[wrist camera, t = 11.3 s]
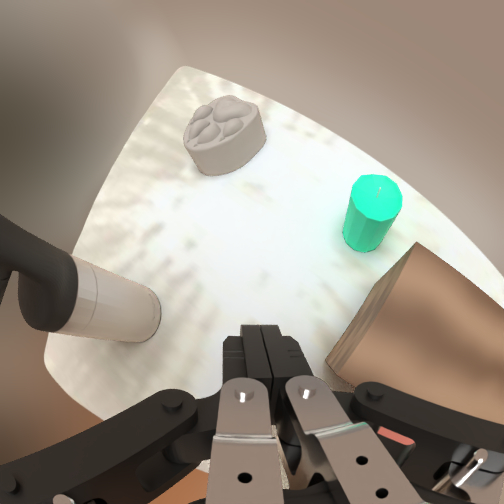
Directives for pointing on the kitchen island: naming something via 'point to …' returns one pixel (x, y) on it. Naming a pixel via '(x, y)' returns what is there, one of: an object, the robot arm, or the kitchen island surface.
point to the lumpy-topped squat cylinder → (224, 135)
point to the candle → (371, 211)
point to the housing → (428, 338)
